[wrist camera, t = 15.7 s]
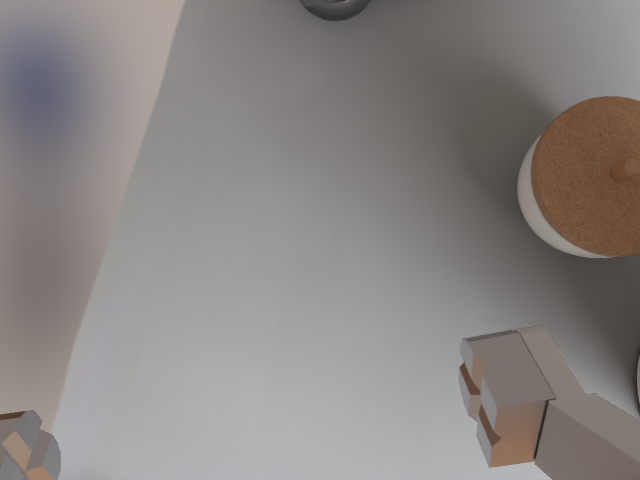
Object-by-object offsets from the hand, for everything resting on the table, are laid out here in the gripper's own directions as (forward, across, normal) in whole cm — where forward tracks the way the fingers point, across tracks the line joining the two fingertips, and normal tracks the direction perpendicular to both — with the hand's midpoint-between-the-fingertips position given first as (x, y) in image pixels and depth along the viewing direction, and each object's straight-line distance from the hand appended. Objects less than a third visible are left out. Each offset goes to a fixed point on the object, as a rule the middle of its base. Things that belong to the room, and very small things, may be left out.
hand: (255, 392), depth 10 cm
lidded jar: (+28, -22, +17) cm, 39 cm away
